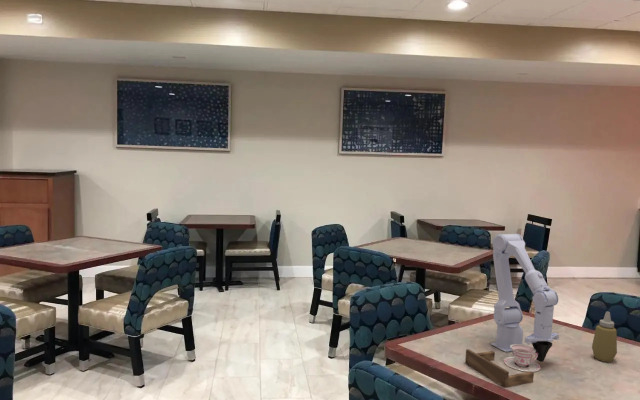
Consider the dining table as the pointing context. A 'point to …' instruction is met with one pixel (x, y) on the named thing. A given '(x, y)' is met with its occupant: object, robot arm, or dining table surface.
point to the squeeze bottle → (605, 340)
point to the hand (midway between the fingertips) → (539, 360)
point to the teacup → (522, 358)
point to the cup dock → (495, 369)
